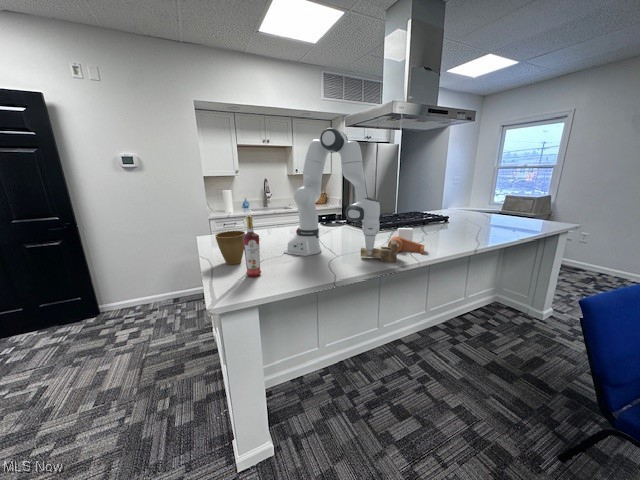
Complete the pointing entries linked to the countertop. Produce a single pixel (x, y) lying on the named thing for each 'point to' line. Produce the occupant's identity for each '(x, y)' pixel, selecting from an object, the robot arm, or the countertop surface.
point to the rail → (375, 252)
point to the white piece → (405, 233)
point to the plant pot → (231, 246)
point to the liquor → (251, 249)
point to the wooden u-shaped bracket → (389, 252)
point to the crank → (407, 245)
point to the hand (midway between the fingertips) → (369, 253)
